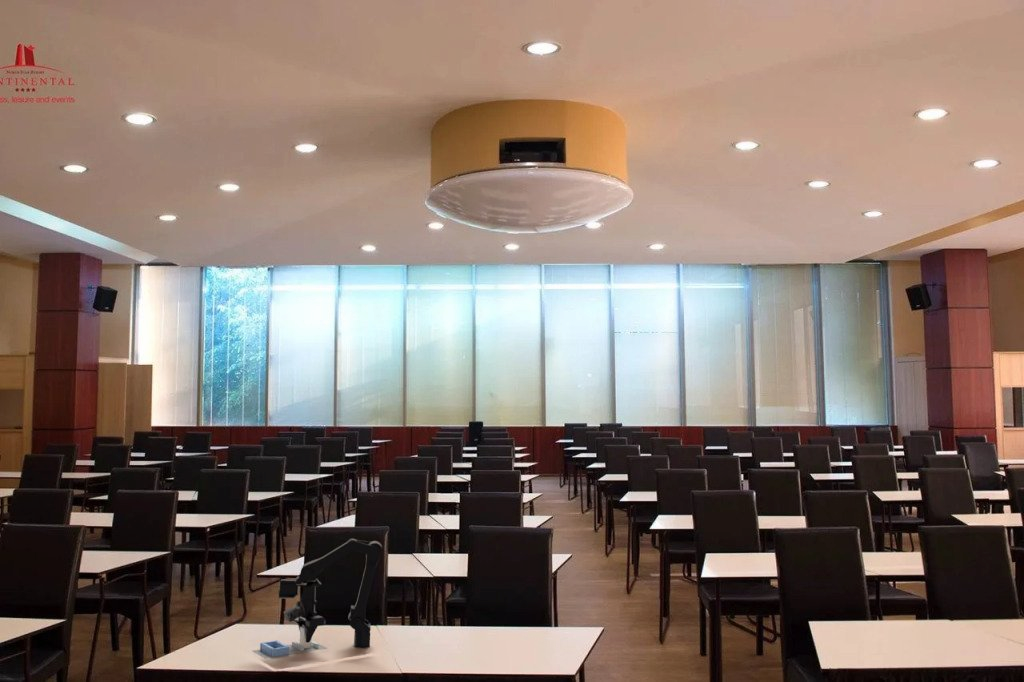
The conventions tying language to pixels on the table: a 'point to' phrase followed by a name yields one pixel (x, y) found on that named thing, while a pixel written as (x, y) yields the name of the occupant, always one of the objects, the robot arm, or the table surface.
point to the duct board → (284, 648)
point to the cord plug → (304, 638)
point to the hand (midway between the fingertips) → (305, 641)
